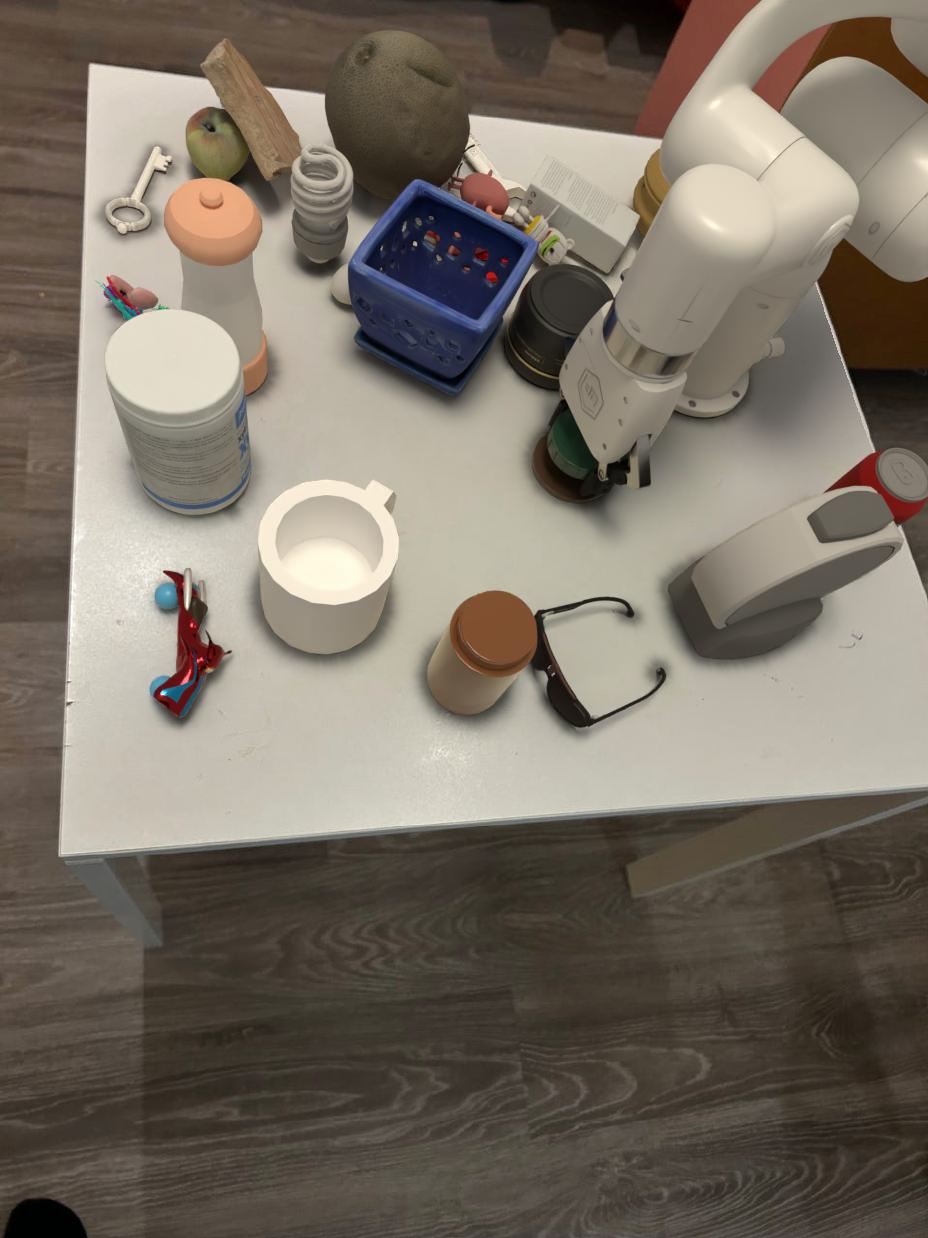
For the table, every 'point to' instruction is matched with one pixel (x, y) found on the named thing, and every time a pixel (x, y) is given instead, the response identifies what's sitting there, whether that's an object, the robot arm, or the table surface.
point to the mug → (327, 563)
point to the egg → (341, 285)
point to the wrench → (493, 174)
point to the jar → (552, 319)
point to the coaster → (556, 476)
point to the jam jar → (482, 652)
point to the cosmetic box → (581, 213)
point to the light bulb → (321, 202)
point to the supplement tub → (181, 408)
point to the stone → (252, 110)
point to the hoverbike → (186, 644)
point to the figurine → (480, 197)
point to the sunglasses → (557, 684)
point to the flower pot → (435, 285)
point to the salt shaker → (221, 264)
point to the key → (138, 194)
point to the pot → (649, 193)
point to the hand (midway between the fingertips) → (578, 456)
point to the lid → (570, 447)
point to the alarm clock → (782, 571)
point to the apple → (216, 143)
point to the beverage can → (892, 480)
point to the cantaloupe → (396, 112)
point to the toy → (541, 233)
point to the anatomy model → (129, 297)
